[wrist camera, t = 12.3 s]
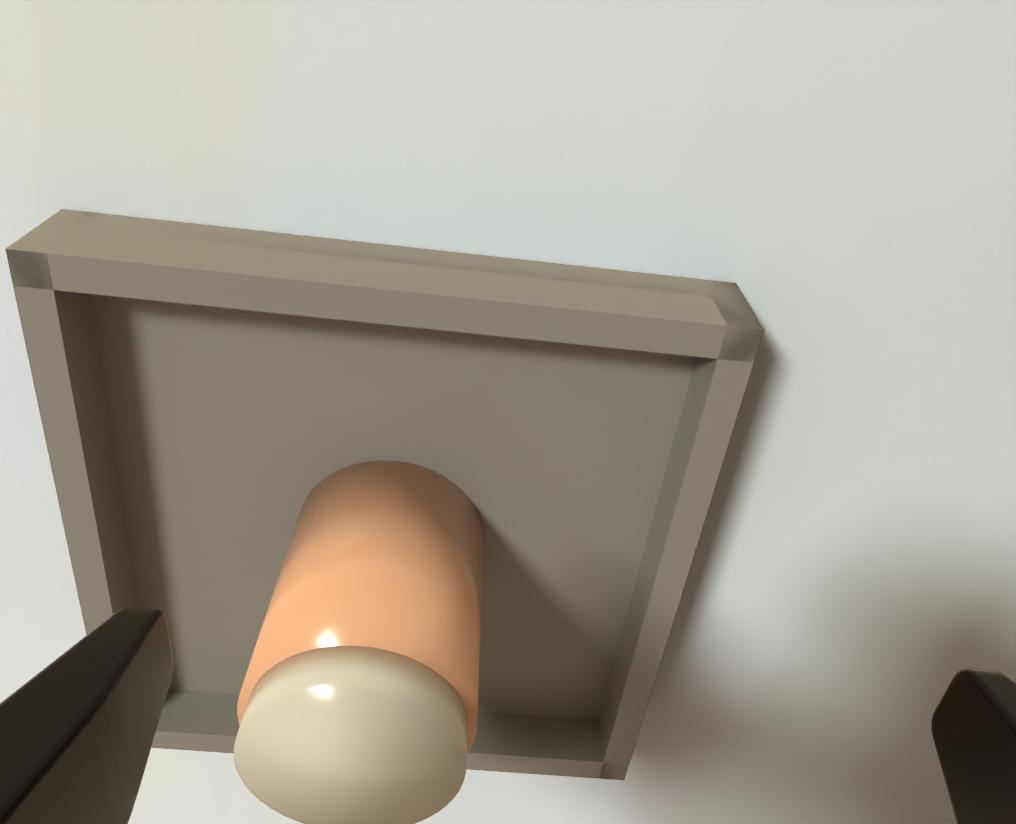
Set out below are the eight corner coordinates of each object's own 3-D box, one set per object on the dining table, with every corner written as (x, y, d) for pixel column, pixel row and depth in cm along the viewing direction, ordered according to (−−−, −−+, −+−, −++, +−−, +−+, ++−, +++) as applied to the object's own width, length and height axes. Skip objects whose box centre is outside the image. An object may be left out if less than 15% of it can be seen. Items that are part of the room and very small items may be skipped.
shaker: (492, 469, 21) (488, 690, 15) (474, 609, 24) (464, 844, 18) (296, 451, 21) (214, 670, 15) (299, 595, 24) (230, 829, 18)
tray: (735, 283, 20) (764, 329, 18) (614, 712, 28) (624, 779, 26) (61, 209, 19) (5, 249, 17) (140, 677, 27) (109, 744, 25)
